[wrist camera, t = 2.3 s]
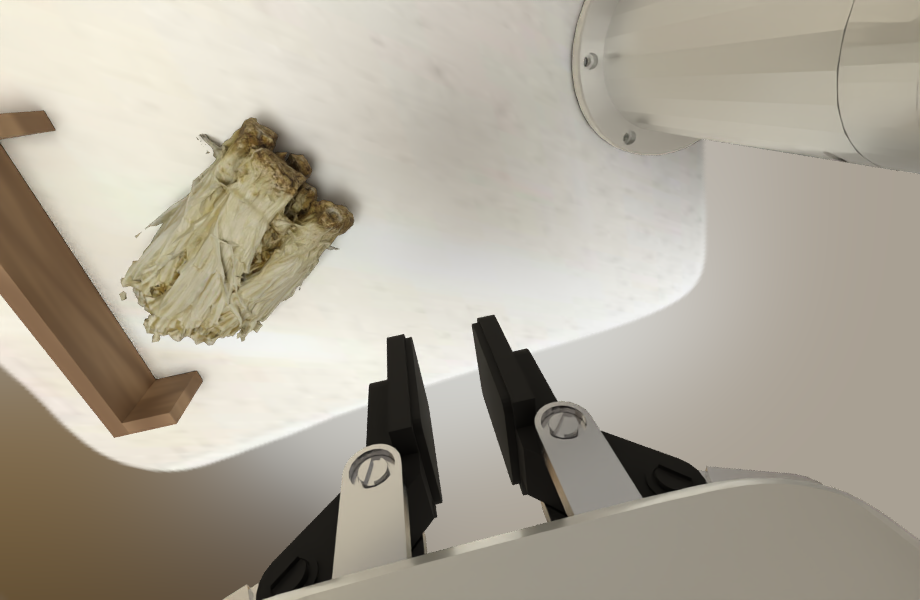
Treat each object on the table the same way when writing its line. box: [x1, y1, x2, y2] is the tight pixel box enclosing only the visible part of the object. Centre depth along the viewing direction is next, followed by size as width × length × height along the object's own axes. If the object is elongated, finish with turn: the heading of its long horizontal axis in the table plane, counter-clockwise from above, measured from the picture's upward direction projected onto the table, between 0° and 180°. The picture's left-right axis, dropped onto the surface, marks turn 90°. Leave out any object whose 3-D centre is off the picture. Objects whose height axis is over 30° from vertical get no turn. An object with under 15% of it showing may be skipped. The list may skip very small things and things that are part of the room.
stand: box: [0, 111, 203, 438], centre depth 24 cm, size 4×19×4 cm, turn 8°
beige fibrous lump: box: [119, 118, 354, 345], centre depth 24 cm, size 14×10×5 cm, turn 134°
